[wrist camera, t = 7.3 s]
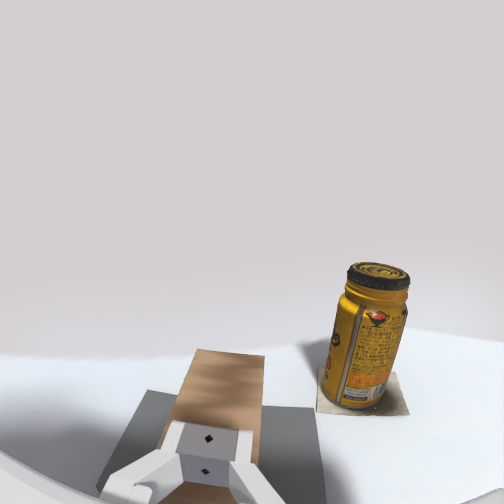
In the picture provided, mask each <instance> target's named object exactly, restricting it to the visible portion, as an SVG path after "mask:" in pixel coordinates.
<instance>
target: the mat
mask: <svg viewBox="0 0 504 504" xmlns="http://www.w3.org/2000/svg"><path fill="white" fill-rule="evenodd" d="M177 396H178V395H173V394H167V393H162V392H156V391H151V390H147V392H146V393H145V395H144V397H143V399H142V401H141V402H140V404H139V406H138V408H137V410H136V412H135V413H134V415H133V417H132V419H131V421H130V423H129V425H128V426H127V428H126V430H125V432H124V434H123V436H122V438H121V439H120V441H119V443H118V445H117V447H116V449H115V451H114V453H113V454H112V456H111V458H110V460H109V462H108V464H107V466H106V468H105V470H104V471H103V473H102V475H101V477H100V479H99V481H98V483H97V485H96V487H97V489H98V491H101V492H102V490H103V488H104V486H105V485H106V483H107V481H108V479H109V477H110V475H111V474H113V473H115V472H117V471H119V470H121V469H122V468H124V467H126V466H128V465H130V464H131V463H133V462H135V461H137V460H138V459H140V458H142V457H144V456H145V455H147V454H149V453H150V452H152V451H154V450H155V449H156V447H157V445H158V443H159V440H160V438H161V435H162V433H163V430H164V428H165V425H166V423H167V421H168V418H169V416H170V413H171V411H172V408H173V406H174V404H175V401H176V399H177ZM258 469H259V470H260V472H261V473H262V474H263V476H264V477H265V478H266V480H267V481H268V482H269V483H270V485H271V486H272V487H273V488H274V490H275V491H276V492H277V494H278V495H279V496H280V497H281V498H282V500H283V501H284V502H285V503H286V504H326V497H325V488H324V480H323V472H322V464H321V456H320V448H319V441H318V434H317V427H316V419H315V413H314V408H296V407H275V406H262V411H261V427H260V443H259V458H258Z"/></svg>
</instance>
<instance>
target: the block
mask: <svg viewBox="0 0 504 504" xmlns="http://www.w3.org/2000/svg"><path fill="white" fill-rule="evenodd" d="M264 358H265V356H259V355H248V354H237V353H227V352H218V351H209V350H201V349H197V351H196V353H195V356H194V358H193V360H192V363H191V365H190V368H189V370H188V372H187V375H186V377H185V379H184V382H183V384H182V387H181V389H180V392H179V394H178V396H177V399H176V401H175V404H174V406H173V408H172V411H171V413H170V416H169V418H168V421H167V423H166V425H165V428H164V430H163V433H162V435H161V438H160V440H159V443H158V445H157V447H156V449H159V450H160V449H161V446H162V444H163V441H164V439H165V436H166V434H167V431H168V429H169V426H170V424H171V422H172V421H173V420H176V421H181V422H187V423H192V424H198V425H203V426H209V427H219V428H228V429H239V430H249V431H253V440H252V451H251V462H250V463H253V464H255V465H256V466H257V468H258V458H259V443H260V427H261V411H262V394H263V376H264ZM157 504H237V502H236V500H235V499H234V497H233V495H232V493H231V492H230V490H229V488H228V487H221V486H214V485H208V484H201V483H194V482H188V481H183V483H182V484H180V485H179V486H178V487H177V488H176V489H174V490H173V491H172V492H171V493H170V494H168V495H167V496H166V497H165V498H163V499H162V500H161V501H160V502H158V503H157Z"/></svg>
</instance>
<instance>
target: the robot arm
mask: <svg viewBox="0 0 504 504" xmlns="http://www.w3.org/2000/svg"><path fill="white" fill-rule="evenodd" d="M252 440H253V431H249V430H239V429H228V428H219V427H209V426H203V425H198V424H192V423H187V422H181V421H176V420H173V421H172V422H171V424H170V426H169V429H168V431H167V434H166V436H165V439H164V441H163V444H162V446H161V449H160V450H159V449H155V450H154V451H152V452H150V453H149V454H147V455H145V456H144V457H142V458H140V459H138V460H137V461H135V462H133V463H131V464H130V465H128V466H126V467H124V468H122V469H121V470H119V471H117V472H115V473H113V474H111V475H110V477H109V479H108V481H107V483H106V485H105V486H104V488H103V490H102V492H101V494H100V496H99V498H98V499H97V498H95V497H92V496H90V495H87V494H85V493H82V492H80V491H77V490H75V489H73V488H70V487H68V486H66V485H64V484H62V483H60V482H57V481H55V480H53V479H51V478H49V477H47V476H45V475H43V474H41V473H39V472H37V471H36V470H34V469H32V468H30V467H28V466H26V465H25V464H23V463H21V462H20V461H18V460H16V459H14V458H13V457H11V456H10V455H8V454H6V453H5V452H3V451H2V450H0V504H157V503H158V502H160V501H161V500H162V499H163V498H165V497H166V496H167V495H168V494H170V493H171V492H172V491H173V490H174V489H176V488H177V487H178V486H179V485H180V484H182V483H183V481H188V482H194V483H201V484H208V485H214V486H221V487H228V488H229V490H230V492H231V493H232V495H233V497H234V499H235V500H236V502H237V504H286V503H285V502H284V501H283V500H282V498H281V497H280V496H279V495H278V494H277V492H276V491H275V490H274V488H273V487H272V486H271V485H270V483H269V482H268V481H267V480H266V478H265V477H264V476H263V474H262V473H261V472H260V470H259V469H258V468H257V466H256V465H255V464H253V463H250V462H251V451H252ZM461 504H504V489H503V488H499V489H495V490H493V491H491V492H488V493H486V494H484V495H481V496H479V497H476V498H474V499H471V500H469V501H466V502H463V503H461Z"/></svg>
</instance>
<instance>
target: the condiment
mask: <svg viewBox="0 0 504 504" xmlns="http://www.w3.org/2000/svg"><path fill="white" fill-rule="evenodd" d="M409 285H410V277H409V275H408V274H407V273H406V272H404V271H403V270H401V269H399V268H396V267H393V266H390V265H385V264H380V263H371V262H360V263H355V264H353V265H351V266H350V269H349V270H348V271H347V283H346V284H345V293H343V294H342V295H341V297H340V299H339V303H338V306H337V313H336V318H335V323H334V329H333V334H332V337H331V345H330V348H329V354H328V358H327V362H326V368H325V367H320V366H318V392H317V412H321V413H330V414H344V415H357V416H361V415H366V416H369V415H378V416H395V415H410V414H409V411H408V409H407V406H406V404H405V400H404V398H403V395H402V391H401V390H400V385H399V382H398V380H397V376H396V373H395V372H391V369H392V366H393V363H394V360H395V357H396V354H397V350H398V347H399V344H400V340H401V337H402V333H403V330H404V326H405V322H406V318H407V314H408V311H407V306H406V303H405V301H406V300H407V298H408V293H407V291H408V288H409ZM375 408H376V409H375Z"/></svg>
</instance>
